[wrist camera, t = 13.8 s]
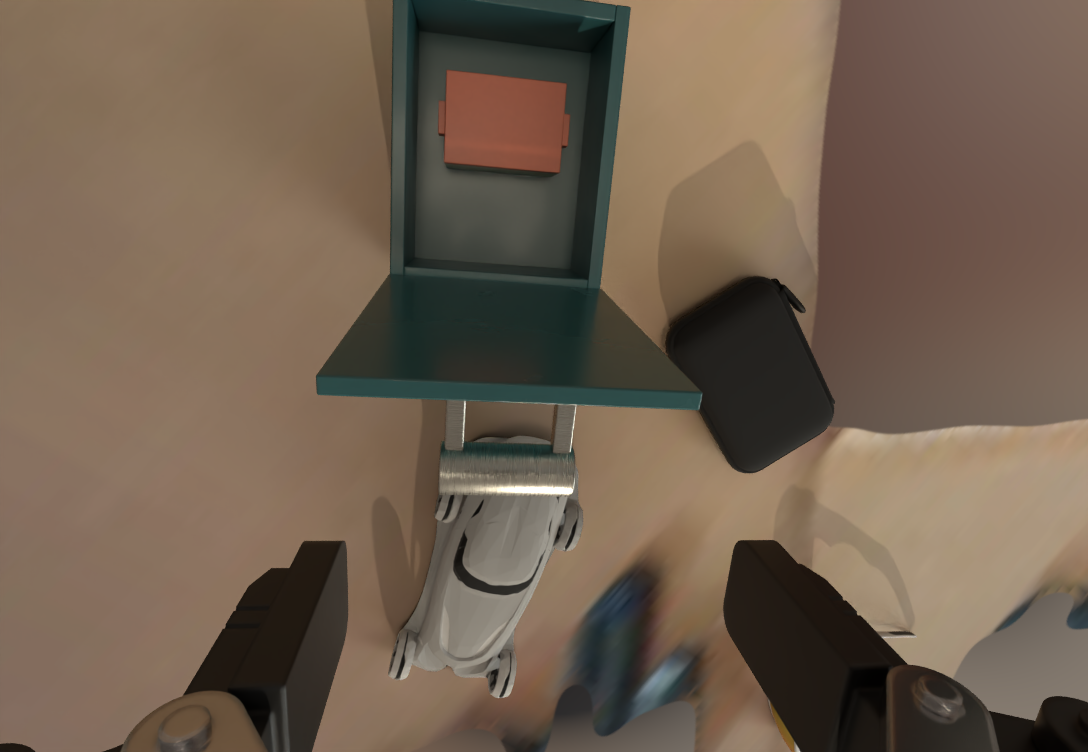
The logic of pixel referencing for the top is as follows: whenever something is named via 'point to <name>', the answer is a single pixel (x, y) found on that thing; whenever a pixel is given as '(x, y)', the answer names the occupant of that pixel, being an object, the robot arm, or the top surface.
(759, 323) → the carrying case
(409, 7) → the lunch tin
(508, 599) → the car model
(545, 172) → the snack box
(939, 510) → the top surface
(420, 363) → the tin lid
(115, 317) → the top surface
